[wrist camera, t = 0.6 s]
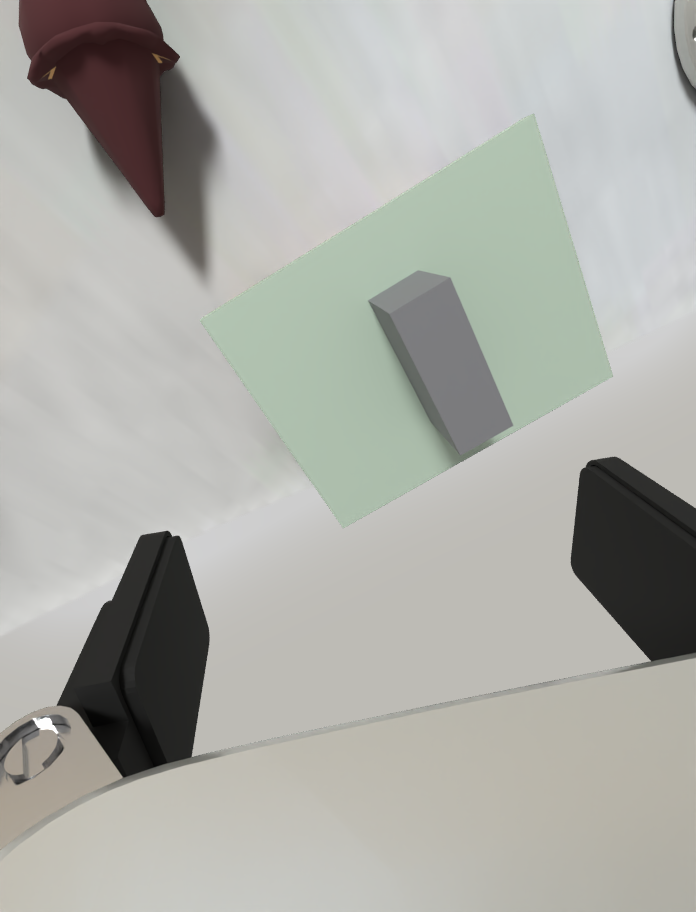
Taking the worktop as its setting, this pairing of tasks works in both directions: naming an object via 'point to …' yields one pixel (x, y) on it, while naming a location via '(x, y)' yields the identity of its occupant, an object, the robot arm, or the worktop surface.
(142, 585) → the robot arm
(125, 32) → the icecream
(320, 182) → the worktop surface
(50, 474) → the worktop surface
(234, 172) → the worktop surface
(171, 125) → the worktop surface
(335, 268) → the lid
